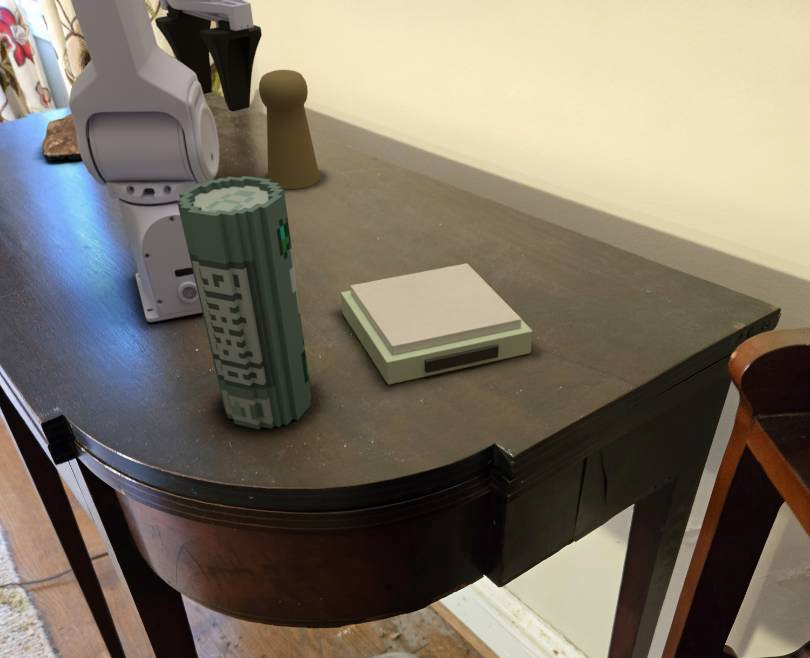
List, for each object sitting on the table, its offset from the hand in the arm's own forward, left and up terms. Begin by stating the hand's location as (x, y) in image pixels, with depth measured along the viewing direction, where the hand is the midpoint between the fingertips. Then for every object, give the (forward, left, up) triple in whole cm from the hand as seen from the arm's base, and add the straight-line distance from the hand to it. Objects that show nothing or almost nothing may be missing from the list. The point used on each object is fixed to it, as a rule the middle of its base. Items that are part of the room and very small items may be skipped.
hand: (220, 101), depth 80 cm
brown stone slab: (+25, +14, -10) cm, 30 cm away
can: (-42, +6, -10) cm, 44 cm away
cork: (+2, -7, -10) cm, 12 cm away
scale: (-37, -9, -10) cm, 39 cm away
